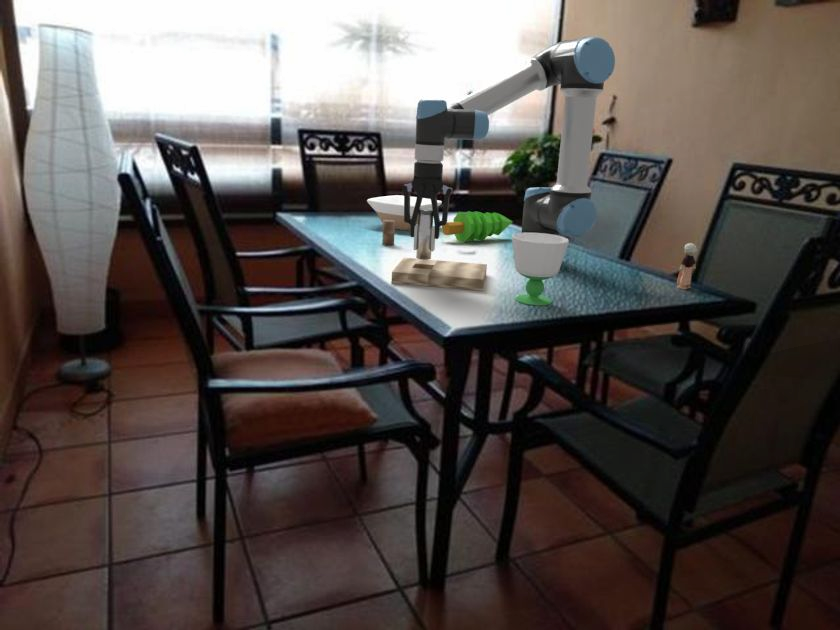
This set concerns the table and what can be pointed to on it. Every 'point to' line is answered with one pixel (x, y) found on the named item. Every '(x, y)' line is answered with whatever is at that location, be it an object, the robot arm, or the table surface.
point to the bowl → (397, 209)
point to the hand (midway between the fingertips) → (424, 249)
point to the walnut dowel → (388, 232)
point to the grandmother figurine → (686, 267)
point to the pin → (424, 234)
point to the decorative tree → (476, 225)
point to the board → (440, 274)
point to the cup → (537, 262)
